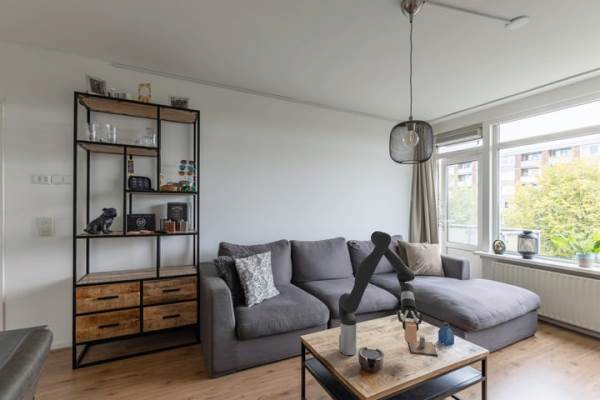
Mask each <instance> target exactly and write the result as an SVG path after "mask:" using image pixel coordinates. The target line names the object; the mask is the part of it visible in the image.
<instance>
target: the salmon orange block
mask: <svg viewBox="0 0 600 400" xmlns="http://www.w3.org/2000/svg"><path fill="white" fill-rule="evenodd" d="M405 327H406V329H405V330H404V329H403V331H404V332H403V335H404V340H405V343H408V342H413V343H417V341H418V339H417V336H418V334H417V332H418V331H417V326H416V323H415V322H414V321H408V320H405Z"/></svg>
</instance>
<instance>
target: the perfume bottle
mask: <svg viewBox="0 0 600 400" xmlns="http://www.w3.org/2000/svg"><path fill="white" fill-rule="evenodd" d="M449 324H450V323H449V322H447V321H443V322H442V326H441V327H440V328H439V330H438V331H437V332H438V333H437V334H438V335H437V339H438V340H437V341H438V342H439V343H441V344H443V345H444V346H452V345H454V344H455V333H454V331H453V330H452V329H451V328H450V325H449Z"/></svg>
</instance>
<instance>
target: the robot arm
mask: <svg viewBox="0 0 600 400" xmlns="http://www.w3.org/2000/svg"><path fill="white" fill-rule="evenodd" d="M370 241H371V243H372V244H373V245H374V248H373V249H372V251H371V252H370V253H369V254H368V255H367V256H366V257H365V258H364V259H363V260H362V261H361V262H360V263H359V265H358V268H357V269H356V272H355V276H354V283H353V287H352V290H351V291H350V293H348V292H344V293H342V294H341V295H340V296H339V298H338V315H339V319H340V334H339V335H338V352H339V351H341V352H342V353H343V354H342V353H341V352H340V353H341V354H342V355H344V354H345V355H344V356H346V355H353V356H355V355H356V354H357V352H358V351H357V317H356V314H355V312H356V311H357V310H358V308H359V306H360V304H361V301H362V299H363V296H364V294H365V292H366V289H367V287H368V285H369V283H370V281H371V280H372V279H373V275H374V273H375V272H376V269H377V267H378V266H379V263H380V262H381V260H382V258H383V257H385V259H386V260H387V261H388V263H389V264H390V266H391V268H393V270H394V271H395V272H397V273H396V278H397V281H398V283H399V287H400V302H401V310H399V309H396V315H397V319H398V322H400V323H401V324H402V325H401V326H402V329H403V331H404V330H405V329H406V327H405V321H407V319H411V320H412V322H415V323H416V326H417V332H418V331H419V330H420V329H419V327H420V326H419V325H422V323H423V322H422V319H423V312H422V311H420V312H419V311H417V307H416V300H415V295H414V293H415V292H414V287H413V284H411V283H409V282H413V281H414V280H415V277H416V275H415V273H414V271H413V270H412V269H411V268H410V267H409V266H407V265H406V264H405V263H404V261H403V260H402V259H401V257H400V255H398V254H397V253H396V252H395V251H394V250H393V249H392V248H391V247H390V245H391V242H392V237H391V234H390V233H387V232H384V231H380V230H377V231H376V230H375V231H373V232H372V233H371V235H370ZM401 314H402V315H403V318H401V317H402V316H401ZM417 316H418V319H417Z"/></svg>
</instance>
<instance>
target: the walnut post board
mask: <svg viewBox="0 0 600 400" xmlns="http://www.w3.org/2000/svg"><path fill="white" fill-rule="evenodd" d="M407 343H408V345H409V349H410V353H411V354H417V355H425V356H432V357H433V356H434V357H438V356H439V355H438V352H437V350H436V347H435V345H434V343H433V342H432V341H426V339H425V336H424V335H419V340H417V343H413V342H407Z"/></svg>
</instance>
